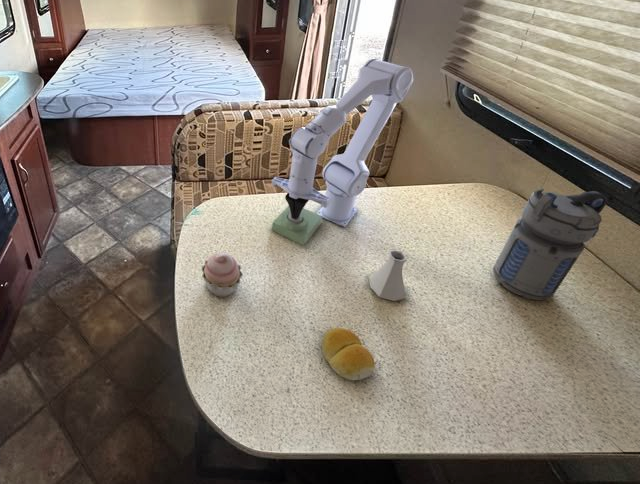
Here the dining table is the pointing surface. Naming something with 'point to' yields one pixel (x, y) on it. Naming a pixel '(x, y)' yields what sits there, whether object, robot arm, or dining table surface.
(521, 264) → the beverage bottle
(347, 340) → the bread roll
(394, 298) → the flask
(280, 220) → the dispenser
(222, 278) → the cupcake
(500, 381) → the dining table surface
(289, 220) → the grey short cylinder
